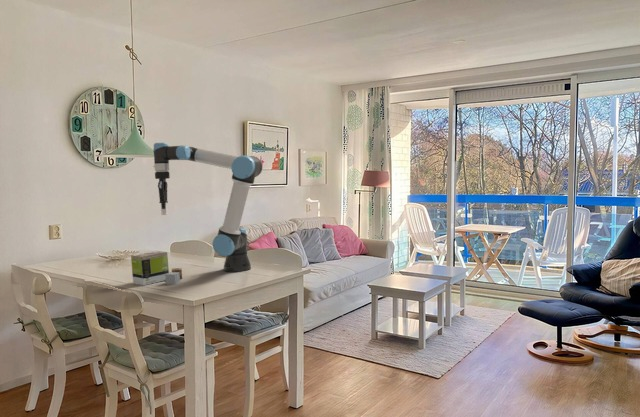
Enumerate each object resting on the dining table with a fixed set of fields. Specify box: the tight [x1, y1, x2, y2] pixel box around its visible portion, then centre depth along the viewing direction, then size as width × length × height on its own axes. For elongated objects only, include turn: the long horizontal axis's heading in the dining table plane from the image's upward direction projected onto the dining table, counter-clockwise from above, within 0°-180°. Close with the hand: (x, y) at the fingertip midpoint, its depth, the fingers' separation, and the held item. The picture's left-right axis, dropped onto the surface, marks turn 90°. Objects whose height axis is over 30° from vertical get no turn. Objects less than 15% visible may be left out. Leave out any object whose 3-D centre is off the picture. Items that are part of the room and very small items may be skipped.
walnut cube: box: [171, 267, 183, 280], centre depth 254 cm, size 5×5×5 cm
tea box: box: [130, 250, 170, 286], centre depth 248 cm, size 15×10×15 cm
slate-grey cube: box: [165, 271, 181, 285], centre depth 243 cm, size 5×5×5 cm
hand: (164, 214), depth 266 cm, fingers closed
